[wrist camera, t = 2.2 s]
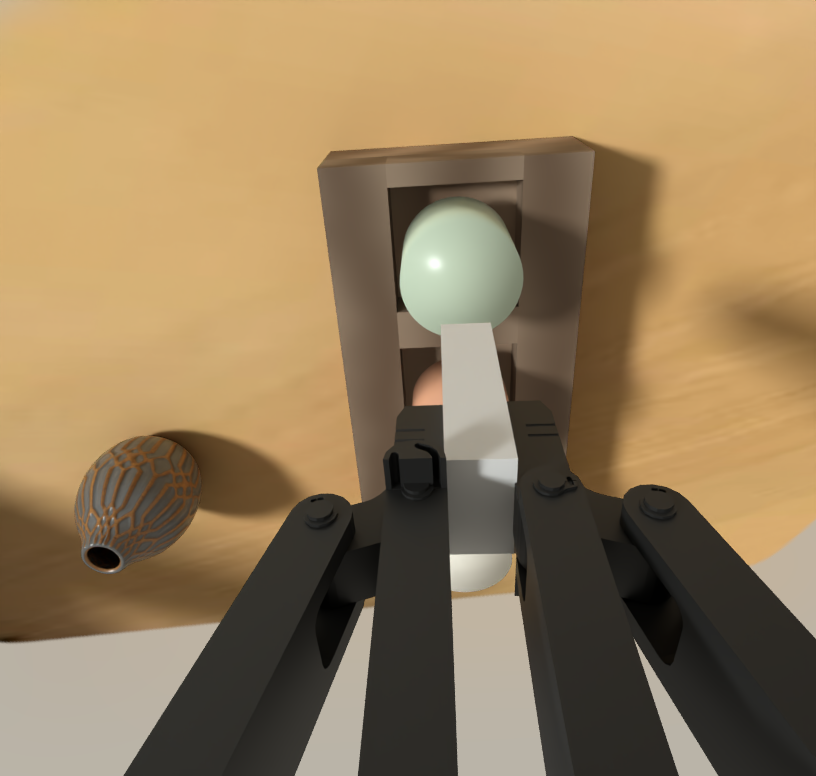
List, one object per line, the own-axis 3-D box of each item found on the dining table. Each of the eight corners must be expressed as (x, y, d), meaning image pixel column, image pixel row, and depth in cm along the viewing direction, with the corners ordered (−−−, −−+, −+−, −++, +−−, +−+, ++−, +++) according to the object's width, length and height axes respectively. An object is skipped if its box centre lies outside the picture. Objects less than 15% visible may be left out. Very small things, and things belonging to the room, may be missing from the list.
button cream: (422, 541, 37) (422, 593, 33) (418, 479, 34) (417, 528, 31) (502, 539, 37) (510, 591, 33) (504, 476, 34) (513, 525, 31)
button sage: (406, 304, 29) (403, 340, 25) (399, 199, 26) (395, 224, 23) (509, 299, 28) (521, 335, 25) (512, 193, 26) (525, 216, 22)
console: (374, 510, 42) (369, 557, 38) (330, 151, 29) (317, 168, 26) (544, 504, 41) (556, 552, 37) (572, 136, 29) (595, 151, 25)
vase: (231, 451, 39) (185, 549, 32) (189, 514, 42) (138, 617, 35) (133, 401, 37) (60, 493, 30) (96, 470, 40) (22, 569, 33)
